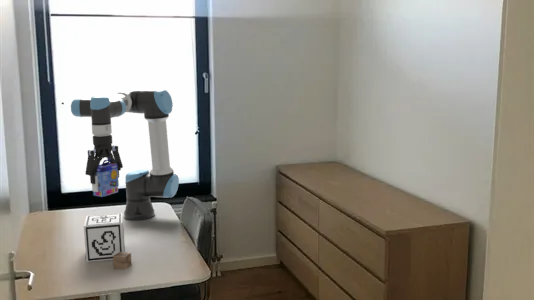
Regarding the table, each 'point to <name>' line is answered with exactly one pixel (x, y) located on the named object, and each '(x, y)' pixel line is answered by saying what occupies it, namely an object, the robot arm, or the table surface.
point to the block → (103, 236)
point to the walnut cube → (122, 260)
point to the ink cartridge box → (107, 179)
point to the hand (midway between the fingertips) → (105, 188)
